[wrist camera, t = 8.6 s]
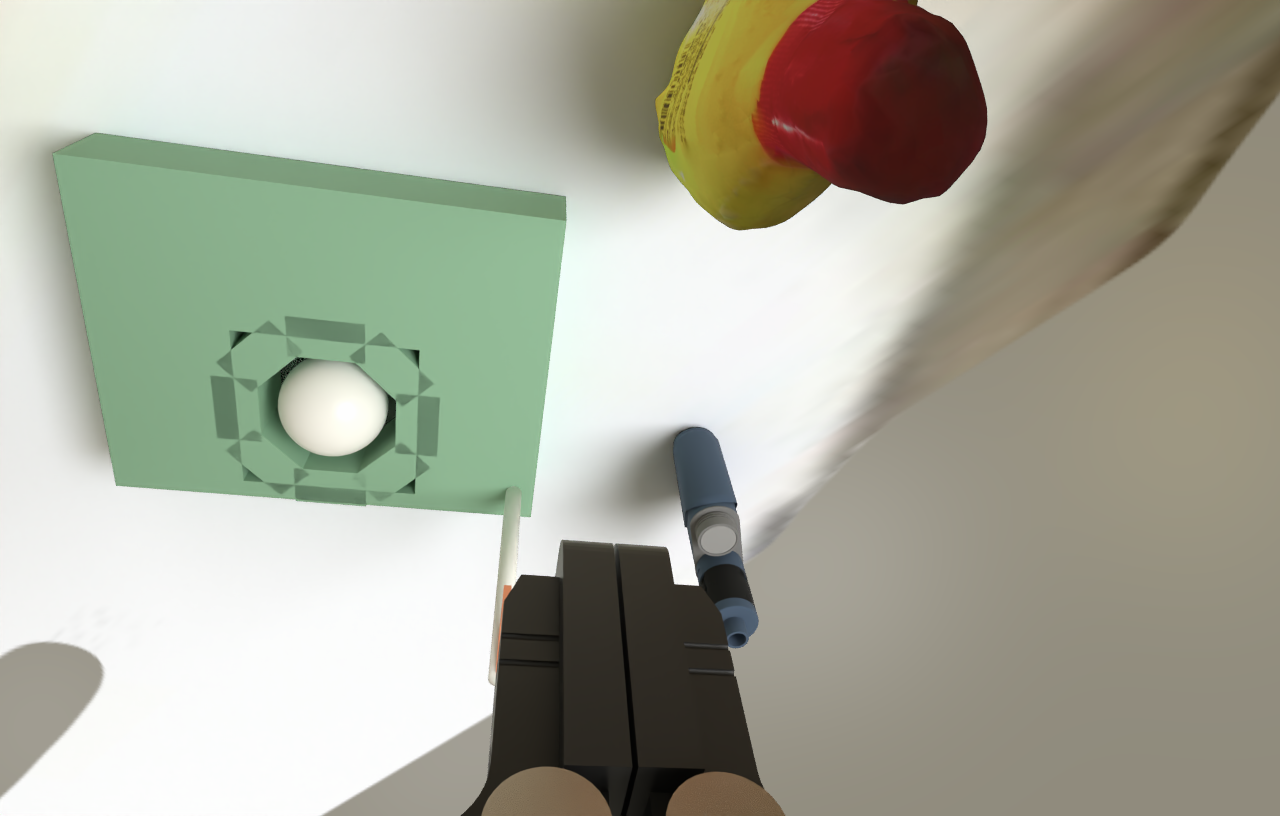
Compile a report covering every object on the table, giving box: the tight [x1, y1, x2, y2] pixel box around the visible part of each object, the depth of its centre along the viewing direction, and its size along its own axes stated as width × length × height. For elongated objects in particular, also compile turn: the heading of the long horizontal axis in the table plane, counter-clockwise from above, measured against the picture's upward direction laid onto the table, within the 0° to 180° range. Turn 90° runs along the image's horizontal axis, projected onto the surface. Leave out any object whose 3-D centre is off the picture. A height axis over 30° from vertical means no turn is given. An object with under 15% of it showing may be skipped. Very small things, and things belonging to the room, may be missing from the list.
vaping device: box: [673, 427, 758, 648], centre depth 41 cm, size 3×5×12 cm, turn 7°
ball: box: [278, 358, 388, 456], centre depth 40 cm, size 5×5×5 cm
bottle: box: [655, 0, 987, 230], centre depth 27 cm, size 12×6×20 cm, turn 152°
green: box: [52, 133, 566, 686], centre depth 34 cm, size 16×20×16 cm
